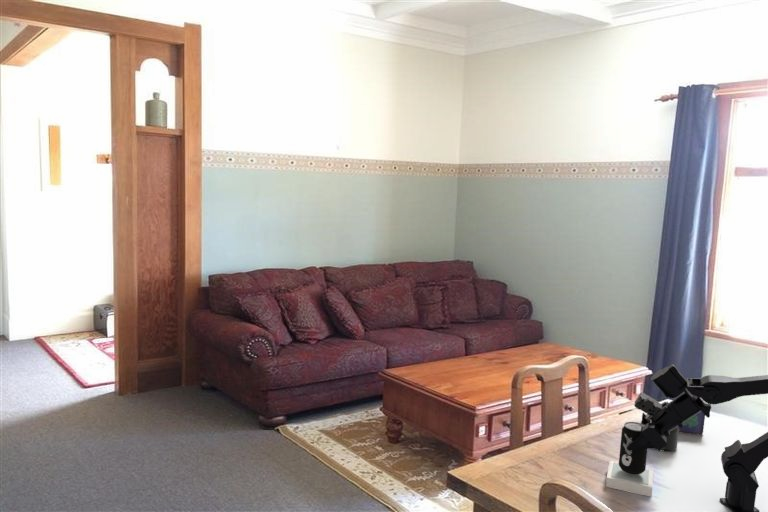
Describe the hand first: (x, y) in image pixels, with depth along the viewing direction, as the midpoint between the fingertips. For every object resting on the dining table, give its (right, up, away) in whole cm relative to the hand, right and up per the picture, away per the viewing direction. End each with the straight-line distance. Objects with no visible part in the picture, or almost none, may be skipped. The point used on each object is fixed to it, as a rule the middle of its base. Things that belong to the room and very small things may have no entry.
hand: (628, 444), depth 167 cm
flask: (+33, -7, +37) cm, 50 cm away
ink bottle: (+19, -8, +25) cm, 33 cm away
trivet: (+1, -10, +1) cm, 10 cm away
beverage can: (+1, -7, 0) cm, 7 cm away
